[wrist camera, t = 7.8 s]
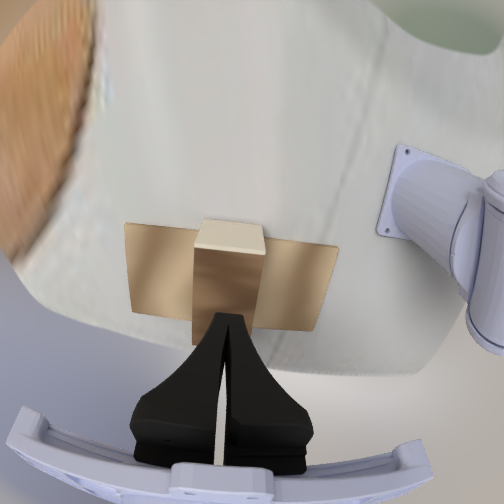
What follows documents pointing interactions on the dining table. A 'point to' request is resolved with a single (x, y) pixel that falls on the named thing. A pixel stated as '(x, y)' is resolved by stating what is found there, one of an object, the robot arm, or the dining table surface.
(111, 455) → the robot arm
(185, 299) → the light wood flat board
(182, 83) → the dining table surface
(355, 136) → the dining table surface
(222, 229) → the walnut block
